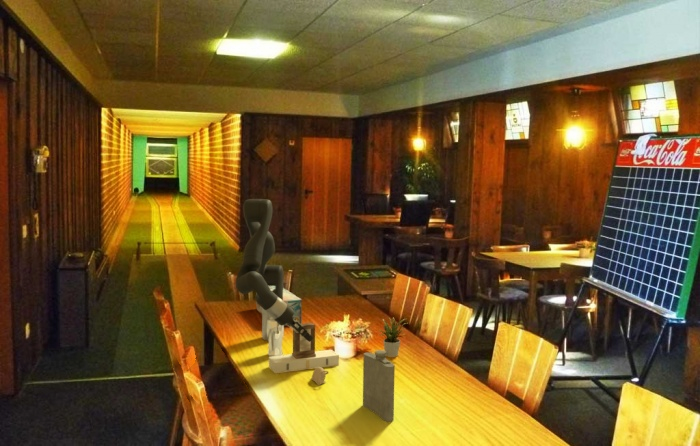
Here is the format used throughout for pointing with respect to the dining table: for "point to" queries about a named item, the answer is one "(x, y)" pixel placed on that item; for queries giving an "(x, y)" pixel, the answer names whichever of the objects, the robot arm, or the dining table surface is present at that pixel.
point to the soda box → (288, 303)
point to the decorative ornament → (319, 375)
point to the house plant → (392, 338)
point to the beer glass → (274, 337)
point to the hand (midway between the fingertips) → (307, 336)
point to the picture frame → (304, 343)
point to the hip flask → (378, 384)
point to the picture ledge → (303, 361)
